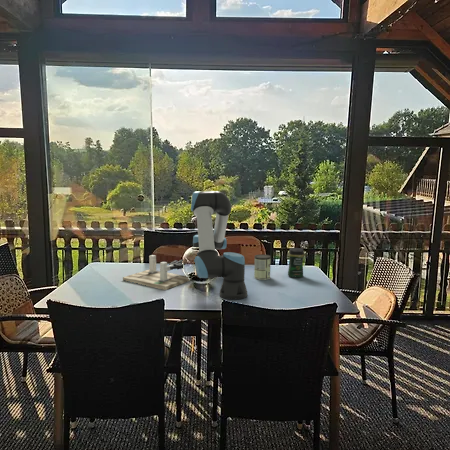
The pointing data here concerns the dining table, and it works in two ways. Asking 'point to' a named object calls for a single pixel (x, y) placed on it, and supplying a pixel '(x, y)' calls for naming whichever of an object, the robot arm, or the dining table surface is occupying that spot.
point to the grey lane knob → (152, 264)
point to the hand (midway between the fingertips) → (165, 269)
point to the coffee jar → (296, 262)
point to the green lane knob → (163, 272)
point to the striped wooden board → (156, 279)
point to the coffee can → (262, 267)
